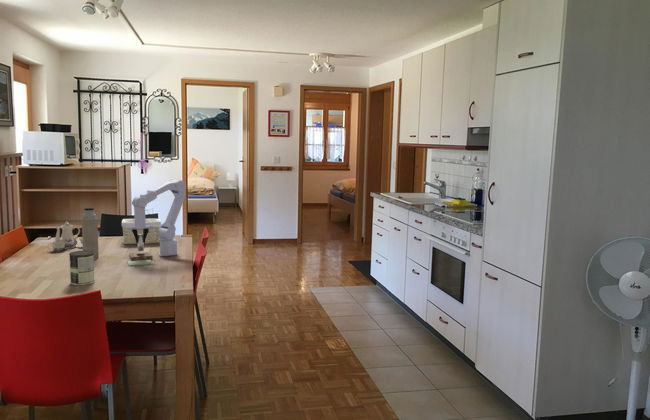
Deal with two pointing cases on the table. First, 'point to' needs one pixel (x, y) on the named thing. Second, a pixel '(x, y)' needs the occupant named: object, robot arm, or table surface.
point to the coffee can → (82, 267)
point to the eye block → (140, 256)
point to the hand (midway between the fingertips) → (140, 242)
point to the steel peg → (140, 242)
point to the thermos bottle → (90, 232)
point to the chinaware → (65, 238)
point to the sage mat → (139, 262)
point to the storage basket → (141, 231)
